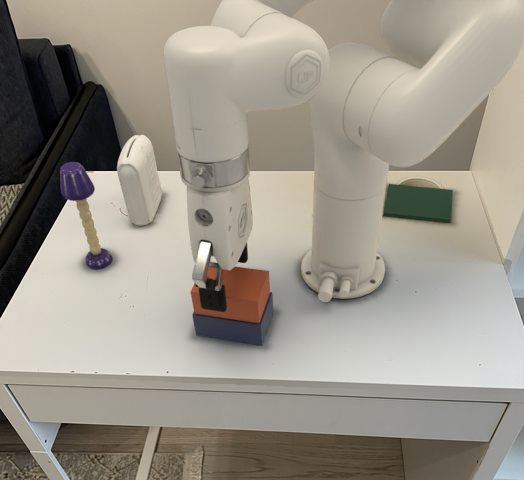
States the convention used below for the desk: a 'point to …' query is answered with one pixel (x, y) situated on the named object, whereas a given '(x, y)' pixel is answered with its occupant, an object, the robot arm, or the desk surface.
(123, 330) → the desk surface
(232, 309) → the orange rectangular brick
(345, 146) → the robot arm
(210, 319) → the navy blue rectangular block
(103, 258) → the toy lamp
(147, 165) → the photo printer
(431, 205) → the mat
